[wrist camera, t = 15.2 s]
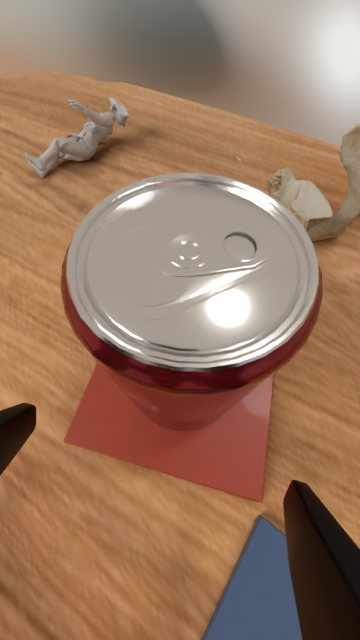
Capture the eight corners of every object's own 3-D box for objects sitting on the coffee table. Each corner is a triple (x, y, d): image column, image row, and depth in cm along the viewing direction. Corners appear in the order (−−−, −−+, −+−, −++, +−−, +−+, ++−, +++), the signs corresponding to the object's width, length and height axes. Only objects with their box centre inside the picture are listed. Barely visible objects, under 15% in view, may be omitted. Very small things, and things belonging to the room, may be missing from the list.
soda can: (127, 436, 15) (20, 400, 5) (130, 328, 19) (70, 168, 8) (245, 427, 16) (387, 376, 5) (227, 323, 19) (290, 161, 9)
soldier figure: (28, 172, 30) (91, 96, 31) (65, 203, 32) (123, 132, 33) (18, 146, 23) (100, 49, 24) (67, 189, 25) (140, 99, 26)
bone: (237, 237, 22) (305, 87, 16) (248, 226, 27) (302, 111, 21) (335, 280, 20) (444, 134, 15) (326, 260, 26) (404, 147, 20)
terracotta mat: (259, 501, 14) (262, 502, 14) (66, 442, 16) (62, 441, 15) (277, 320, 20) (279, 317, 19) (131, 287, 21) (130, 284, 21)
